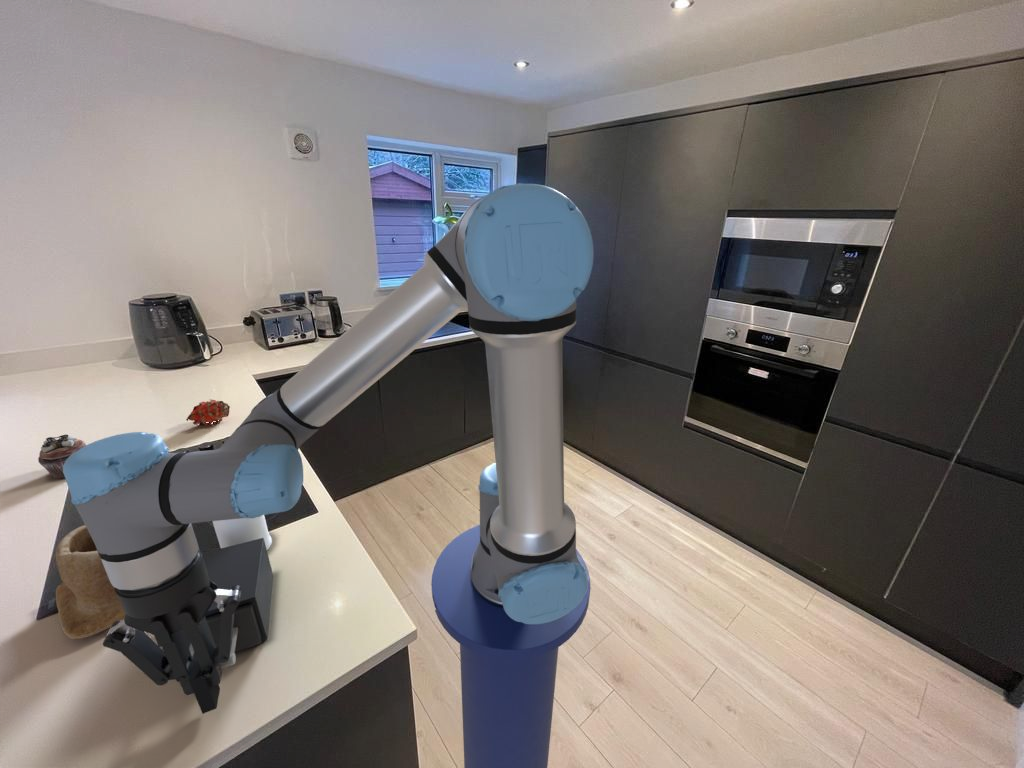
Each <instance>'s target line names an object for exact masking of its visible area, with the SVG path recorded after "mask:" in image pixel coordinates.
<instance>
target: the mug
mask: <svg viewBox="0 0 1024 768" xmlns="http://www.w3.org/2000/svg"><path fill="white" fill-rule="evenodd" d="M211 522H212V524H213V525H212V526H213V528H214V532H215V534H216V538H217V541H218V544H219V547H220V548H219V549H221V548H225V547H229V546H233V545H237V544H241V543H245V542H249V541H252V540H256V539H260V538H264V542H265V545H266V549H267V551H268V550H270V549H271V548H270V547H271V546H272V543H273V539H272V537H271V535H270V533H269V529H268V525H267V521H266V517H265V515H261V516H260V517H256V518H240V519H229V520H219V521H211Z"/></svg>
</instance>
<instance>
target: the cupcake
mask: <svg viewBox="0 0 1024 768" xmlns="http://www.w3.org/2000/svg"><path fill="white" fill-rule="evenodd" d="M86 445H87V443H86V442H85V441H84V440H82V439H79V438H77V437H75V436H70V435H69V434H62V435H59V436H56V437H55V436H54V437H52V436H49V437H46V438H45V440H44V441H43V444H42V445H41V446H40V450H39V455H38V458H37V460H38V464H39V465H41V466H42V467H43V468H44V469H45V470H46V471H47V472H48V473H49V474H50V476H51V477H52V478H53V479H56V480H62V479H65V476H64V473H63V466H64V463H65V461H66V460H67V459H68V457H69V456H70V455H71V454H73V453H75V452H76V451H78V450H79V449H80V448H82V447H84V446H86Z"/></svg>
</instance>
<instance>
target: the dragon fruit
mask: <svg viewBox="0 0 1024 768" xmlns="http://www.w3.org/2000/svg"><path fill="white" fill-rule="evenodd" d="M230 408H231V406H230V405H229V404H228V403H227V402H224V401H223V400H215V399H212V398H211V399H210V398H209V401H208V400H207V401H201V402H199V403H198V404H197V405H194V406H193V409H192V410H191V412H190V414H189V415H187V418H186V419H185V421H186V422H188V421H191V422H192V425H194V426H198V425H197V424H202V425H204V426H207V425H208V424H210V423H212V422H213V421H217V422H213V423H214V424H210V425H211V426H214V425H215V424H217V423H220V422H222V421H223V418H227V417H229V415H230ZM218 420H219V421H218ZM206 422H210V423H206Z"/></svg>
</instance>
